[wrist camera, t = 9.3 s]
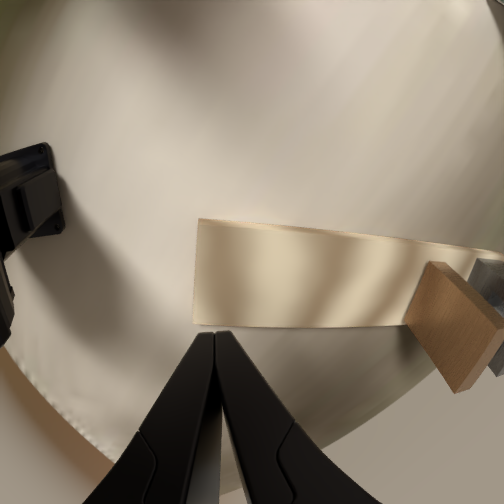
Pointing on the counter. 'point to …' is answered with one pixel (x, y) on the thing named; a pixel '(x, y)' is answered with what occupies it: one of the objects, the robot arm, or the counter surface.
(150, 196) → the counter surface
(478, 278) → the bearing block
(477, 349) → the wooden block with shaft
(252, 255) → the birch base plate
